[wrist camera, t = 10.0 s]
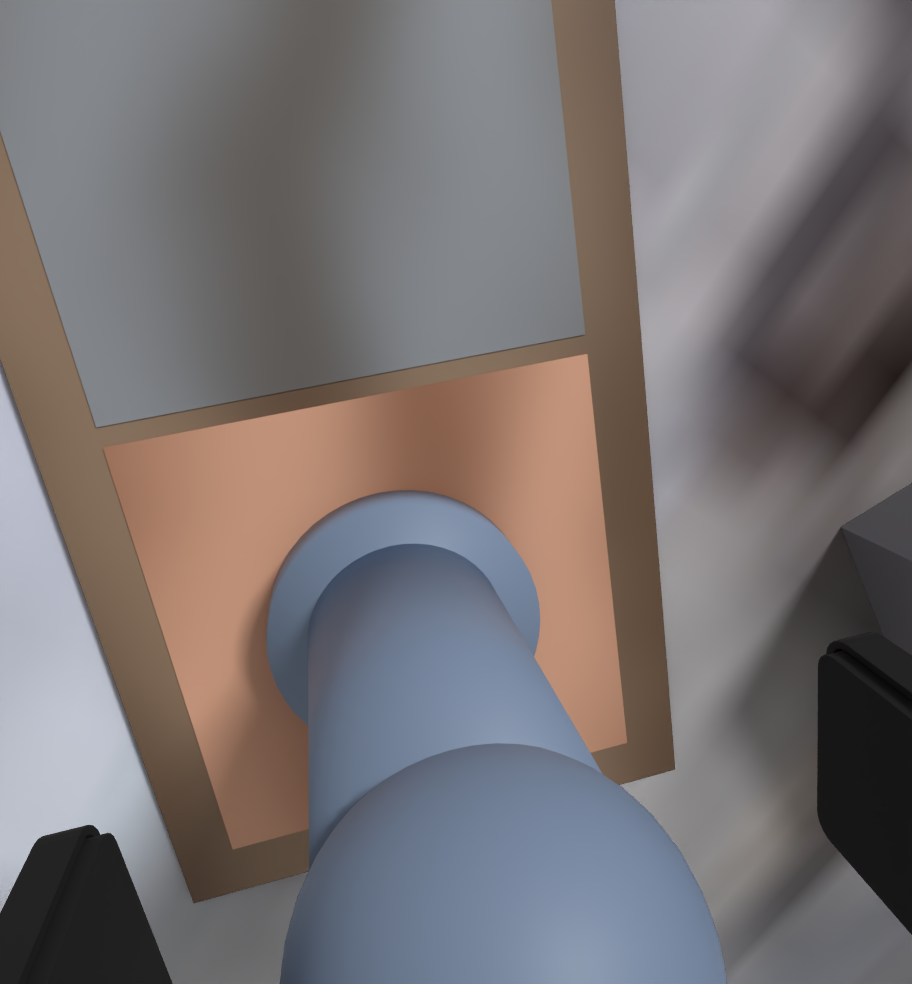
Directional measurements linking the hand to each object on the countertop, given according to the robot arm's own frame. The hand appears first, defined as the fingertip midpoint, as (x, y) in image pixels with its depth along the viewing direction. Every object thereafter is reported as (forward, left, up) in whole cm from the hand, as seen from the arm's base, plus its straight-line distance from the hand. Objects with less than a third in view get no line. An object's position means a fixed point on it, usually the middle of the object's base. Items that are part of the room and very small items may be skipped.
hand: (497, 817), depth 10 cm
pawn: (0, 0, -7) cm, 7 cm away
